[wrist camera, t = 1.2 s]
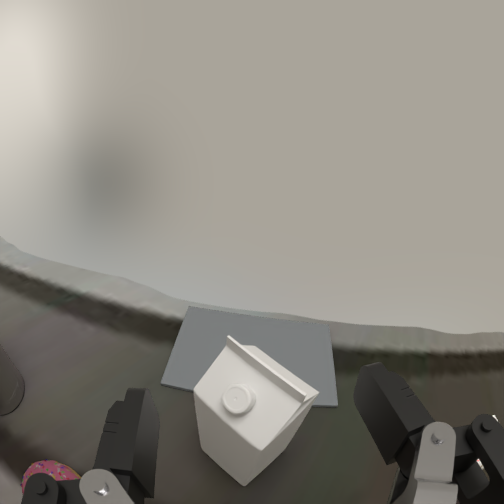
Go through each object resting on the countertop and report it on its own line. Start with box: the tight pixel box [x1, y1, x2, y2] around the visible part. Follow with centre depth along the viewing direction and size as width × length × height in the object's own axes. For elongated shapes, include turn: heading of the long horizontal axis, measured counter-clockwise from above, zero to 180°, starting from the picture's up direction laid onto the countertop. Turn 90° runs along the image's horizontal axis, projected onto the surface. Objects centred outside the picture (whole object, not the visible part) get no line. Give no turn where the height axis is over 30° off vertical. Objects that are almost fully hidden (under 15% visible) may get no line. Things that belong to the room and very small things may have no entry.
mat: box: [161, 306, 338, 408], centre depth 41 cm, size 24×16×1 cm, turn 84°
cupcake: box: [21, 459, 82, 493], centre depth 14 cm, size 9×8×12 cm
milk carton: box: [194, 335, 319, 486], centre depth 24 cm, size 7×7×19 cm
